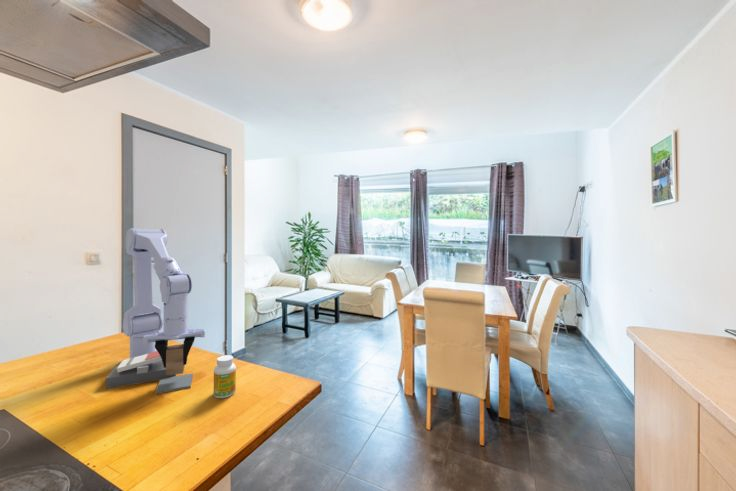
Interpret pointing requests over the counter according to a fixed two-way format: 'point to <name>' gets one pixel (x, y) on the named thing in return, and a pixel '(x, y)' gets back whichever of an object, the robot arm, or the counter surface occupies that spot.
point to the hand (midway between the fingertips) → (175, 364)
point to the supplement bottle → (224, 377)
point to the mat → (174, 383)
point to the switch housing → (137, 375)
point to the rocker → (139, 361)
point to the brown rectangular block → (174, 359)
